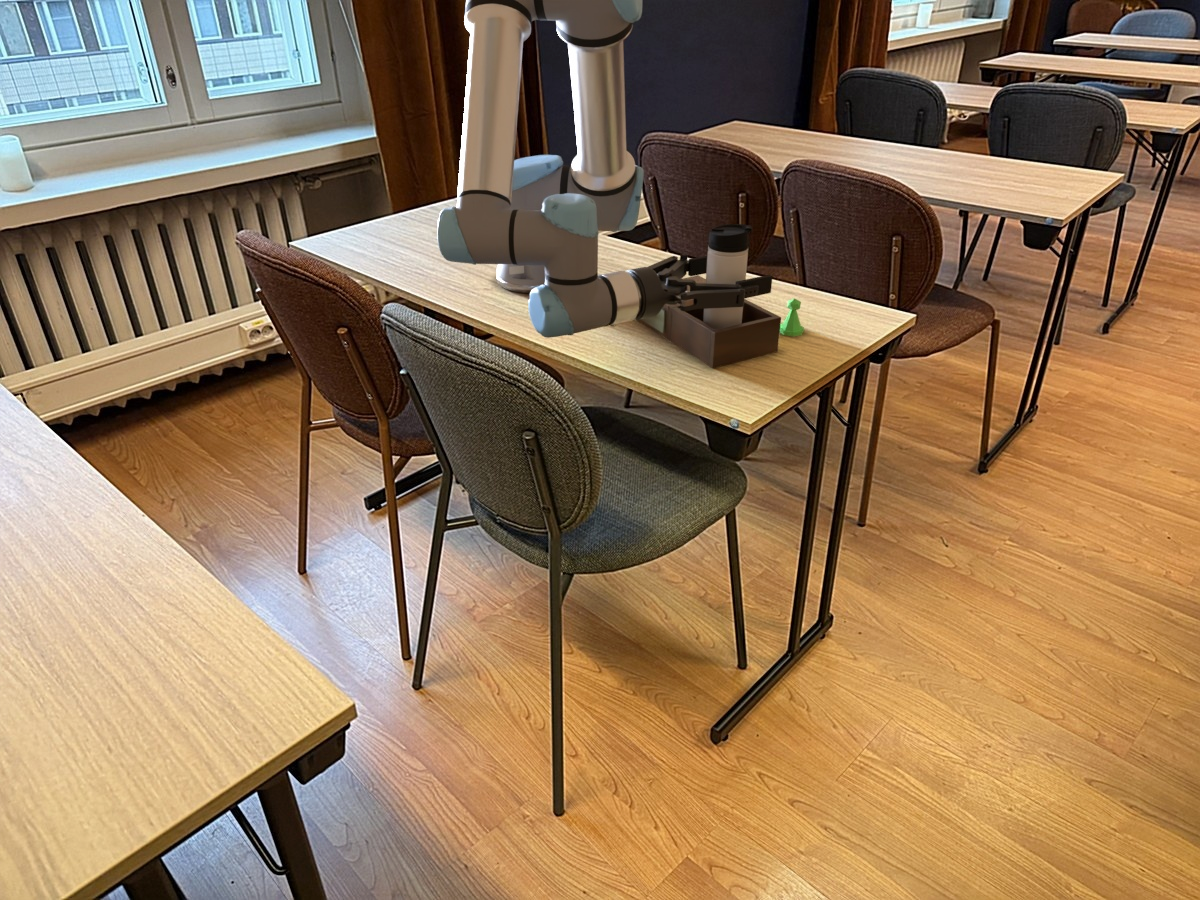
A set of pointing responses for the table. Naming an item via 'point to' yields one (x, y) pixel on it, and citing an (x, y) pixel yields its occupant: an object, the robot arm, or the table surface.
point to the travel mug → (726, 269)
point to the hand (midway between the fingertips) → (745, 272)
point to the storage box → (718, 332)
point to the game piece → (792, 320)
